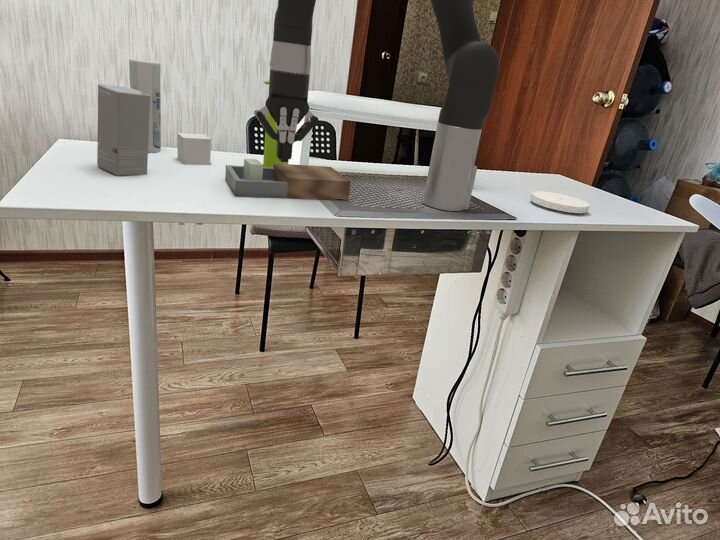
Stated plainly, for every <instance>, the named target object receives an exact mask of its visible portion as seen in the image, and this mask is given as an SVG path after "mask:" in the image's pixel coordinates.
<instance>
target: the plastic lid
mask: <svg viewBox="0 0 720 540" xmlns="http://www.w3.org/2000/svg"><path fill="white" fill-rule="evenodd" d="M529 200H530V202H532V203H534V204H536V205H539V206H541V207H544V208H548V209H552V210H556V211H561V212H565V213H572V214H586V213H588V211H589V209H590V206H591V205H590V203H588V202H586V201H584V200H582V199H579V198H577V197H573V196H570V195H566V194H562V193H558V192H557V193H556V192H552V191H540V190H539V191H531V193H530V198H529Z"/></svg>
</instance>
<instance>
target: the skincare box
mask: <svg viewBox="0 0 720 540" xmlns="http://www.w3.org/2000/svg"><path fill="white" fill-rule="evenodd" d="M149 112H150V95H148V94H145V93H143V92H141V91H138V90H134V89H132V88H130V86H129V87H128V86H127V87H126V86H119V85H111V84H103V83H101V84H97V148H96V149H97V152H96V153H97V159H96V160H97V161H96V164H97V166H98V168H100V169H103V170H105V171H107V172H109V173H111V174H114V175H115V176H122V177H123V176H140V175H142V176H143V175H147V174H148V162H149V161H148V159H149V153H148V136H149Z"/></svg>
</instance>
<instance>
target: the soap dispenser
mask: <svg viewBox="0 0 720 540" xmlns="http://www.w3.org/2000/svg"><path fill="white" fill-rule="evenodd" d="M263 83H264V84H265V85H269V80H264V81H263ZM268 116H269V117H268V119H267V121H268V122H269V124H270V125H271V127H272V128H273V130H274V131H275V133H277V129H276V122H275V121H274V120H273V118H272V116H271V115H270V113H269V111H268ZM264 134H265V135H264V148H263V161H262V162H263V163H262V164H263V167H267V168H273V165H274V163H277V164H289V161H288V162H281V161H279V159H278V158H277V155H276V151H277V141H276V140H274V139H272V138H271V137H269V135H268V134H267V132H266V131H265V130H264Z"/></svg>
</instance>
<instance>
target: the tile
mask: <svg viewBox="0 0 720 540" xmlns="http://www.w3.org/2000/svg"><path fill="white" fill-rule="evenodd" d="M243 161H244V162H243V166H244V174H243V180H257V181H262V176H263V163H262V162H261V161H259V160H258V159H257V158H244V159H243Z"/></svg>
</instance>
